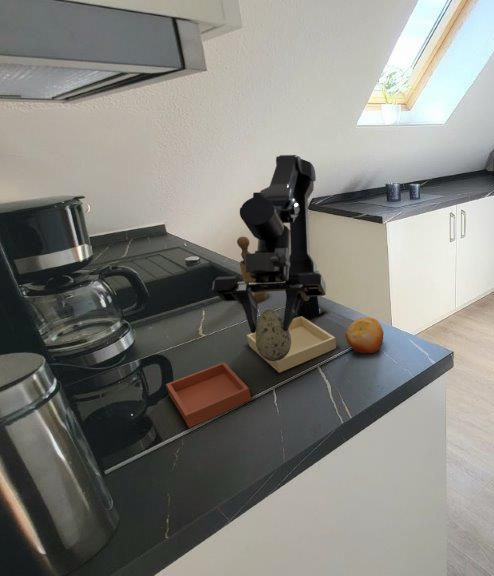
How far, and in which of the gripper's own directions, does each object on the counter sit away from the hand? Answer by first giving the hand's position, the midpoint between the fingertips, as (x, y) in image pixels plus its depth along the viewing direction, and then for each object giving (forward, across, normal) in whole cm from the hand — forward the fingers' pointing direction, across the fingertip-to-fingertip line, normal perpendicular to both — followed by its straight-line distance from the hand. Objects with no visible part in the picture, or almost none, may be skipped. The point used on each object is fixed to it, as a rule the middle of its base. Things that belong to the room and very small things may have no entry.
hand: (269, 331), depth 71 cm
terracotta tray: (+10, -12, +8) cm, 17 cm away
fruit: (0, +16, +17) cm, 23 cm away
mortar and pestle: (-22, -17, +40) cm, 49 cm away
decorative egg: (+4, 0, +6) cm, 7 cm away
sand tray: (-2, -1, +19) cm, 19 cm away
